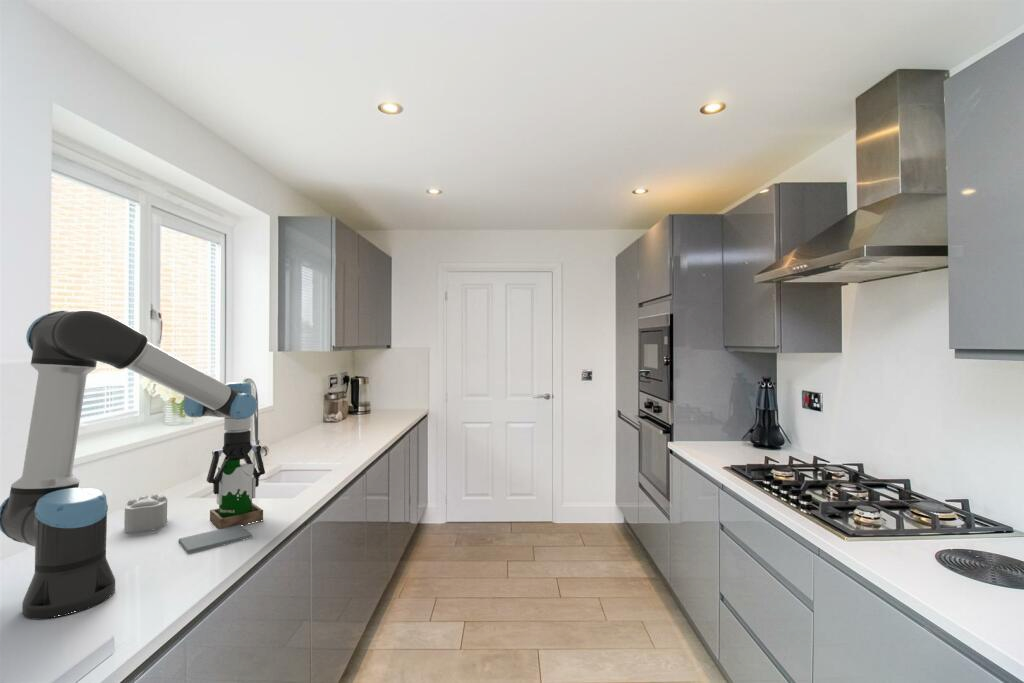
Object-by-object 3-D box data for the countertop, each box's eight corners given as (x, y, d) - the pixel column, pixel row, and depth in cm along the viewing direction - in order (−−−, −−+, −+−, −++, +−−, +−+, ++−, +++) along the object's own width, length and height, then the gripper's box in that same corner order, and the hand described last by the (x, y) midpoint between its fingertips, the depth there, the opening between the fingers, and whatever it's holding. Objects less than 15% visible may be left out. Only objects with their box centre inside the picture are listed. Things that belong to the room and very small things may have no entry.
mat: (187, 553, 131) (187, 550, 131) (178, 542, 139) (178, 538, 139) (252, 537, 143) (252, 534, 143) (240, 527, 150) (240, 524, 150)
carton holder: (220, 530, 148) (220, 519, 148) (209, 520, 156) (209, 509, 156) (263, 521, 156) (263, 510, 156) (250, 512, 165) (250, 501, 165)
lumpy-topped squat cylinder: (121, 534, 145) (121, 505, 145) (130, 520, 156) (130, 493, 156) (163, 528, 150) (164, 500, 150) (169, 515, 161) (170, 489, 161)
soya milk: (213, 525, 152) (214, 461, 152) (232, 515, 161) (233, 455, 161) (239, 526, 151) (240, 462, 151) (257, 516, 160) (258, 455, 160)
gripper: (269, 425, 167) (268, 491, 166) (195, 432, 151) (193, 505, 151) (277, 428, 162) (276, 496, 161) (201, 435, 146) (200, 511, 146)
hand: (236, 500), depth 156 cm, fingers closed on soya milk, 9 cm apart
